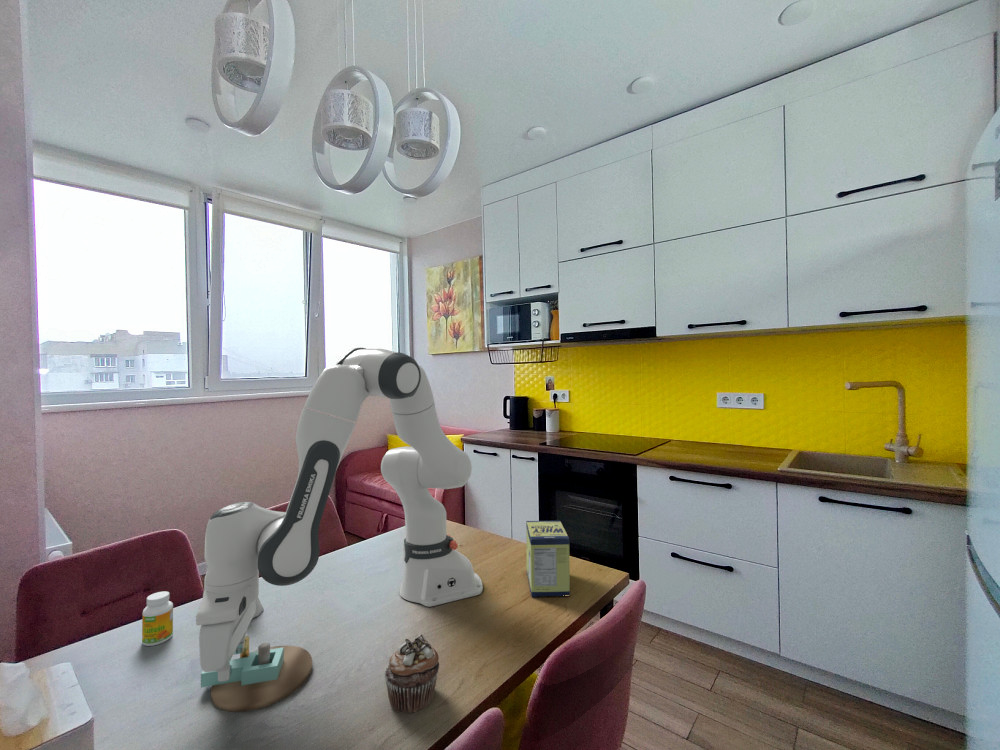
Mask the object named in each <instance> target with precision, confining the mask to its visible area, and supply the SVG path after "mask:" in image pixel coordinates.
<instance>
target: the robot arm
mask: <svg viewBox="0 0 1000 750" xmlns="http://www.w3.org/2000/svg"><path fill="white" fill-rule="evenodd" d="M433 395H434V394H433V390H432V387H431V383H430V381H429V378H428V376H427V373H426V371H425V369H424V368H423V367H422V365H421V366H420V365H419V364H418V362H417V360H415V359H414V358H413V357H412V356H410V355H409V354H406V353H403V352H400V351H399V352H396V351H392V350H388V349H384V348H365V347H355V348H351V349H348V350H347V351H345V352H344V353H342V354H341V356H340V357H339V359H338V360H337V362H336V363H335V364H331V365H328V366H327V367H325V368H324V369H323V370H322V371H321V373H320V375H319V376H318V378H317V379H316V381H315V383H314V384H313V386H312V388H311V390H310V392H309V394H308V395H307V398H306V401H305V403H304V405H303V407H302V410H301V413H300V416H299V419H298V423H297V429H296V434H295V444H296V450H297V457H298V473H297V478H296V481H295V485H294V487H293V489H292V493H291V496H290V499H289V502H288V505H287V507H286V510H285V511H278V510H271V509H268V508H265V507H263V506H259V505H258V504H256V503H254V502H253V501H240V502H234V503H231V504H229V505H226V506H224V507H222V508H220V509H218V510H216V511H215V512H214V513H212V515H211V516H210V518H209V519H208V521H207V523H206V529H205V535H204V537H205V538H204V560H205V561H204V562H205V564H206V573H205V575H204V583H203V585H204V589H203V590H204V591H203V592H202V601H201V603H200V604H199V605H200V606H199V608H198V611H197V612H196V615H195V625H196V626H200V627H199V633H198V634H199V635H198V644H199V645H198V648H199V662H200V668H201V670H202V671H204V672H213V671H217V672H218V681H220V682H222V681H227V680H228V679H229V678H230V676H231V674H232V665H231V666H230V660H232V658H233V655H240V654H241V653H242V651H243V650H244V647H245V636H247V632H248V631H247V630H248V628H249V625H250V623H251V622H252V620H253V619H254V618H253V616H254V614H255V611H256V598H257V597H258V598H259V594H260V590H259V589H260V585H259V584H260V581H259V580H260V579H259V578H260V577H259V575H260V576H261V578H262V579H263V580H264V581H265V582H266V583H269V584H271V585H273V586H277V587H284V586H285V587H286V586H291V585H294V584H297V583H299V582H301V581H302V580H303V579H305V578H307V577H308V576H309V575H310V574H311V573H312V572H313V570H314V569H315V568H316V566H317V564H318V561H319V558H320V541H319V539H320V538H319V530H320V526H321V521H322V517H323V514H324V511H325V508H326V505H327V502H328V500H329V499H328V498H329V495H330V492H331V489H332V486H333V483H334V478H335V475H336V473H337V470H338V467H339V465H340V462H341V461H342V458H343V455H344V453H345V452H346V451H345V450H346V448H347V446H348V445H349V444H348V443H349V441H350V440H351V437H352V435H353V432H354V429H355V427H356V423H357V421H358V418H359V415H360V412H361V408H362V404H363V403H364V401H366V399H367V398H368V397H369V396H371V397H381V398H388V399H389V405H390V410H391V413H392V417H393V424H394V426H395V427H394V428H395V431H396V434H397V436H398V438H399V439H400V440H401V441H402V442H403V443H405V444H407V445H408V446H400V447H396V448H395V447H394V448H390V449H389V450H387V451H386V453H385V454H384V455H383V457H382V459H381V463H380V472H381V475H382V478H383V480H384V481H385V482H386V483H388V484H389V485H390V487H392V489H394V491H395V492H396V495H397V496H398V497H399V500H400V502H401V505H402V508H403V511H404V522H405V523H404V525H405V538H404V540H403V561H404V567H403V575H402V580H401V585H400V589H399V595H400V597H402V598H403V599H404V600H407V601H409V602H413V603H417V604H421V605H422V606H424V607H429V608H430V607H434V606H438V605H442V604H447V603H451V602H455V601H458V600H459V601H460V600H463V599H467V598H471V597H475V596H478V595H480V594H482V593H483V589H484V587H483V581H482V579H481V577H480V576H479V574H478V573H476V572H474V567H473V565H472V563H471V561H470V560H469V558H468V557H466V556H465V555H464V554H462V553H461V552H459V551H458V550H457V548H458V546H459V545H458V543H457V542H456V540H454V538H453V537H452V536H451V535H450V534H447V511H446V508H445V506H444V504H443V503H442V502H441V501H439V500H438V499H436V498H434V497H433V495H432V494H431V492H430V490H429V489H437V490H449V489H450V490H451V489H457V488H463V487H464V486H465V485H466V484H467V482H469V480H470V478H471V474H472V470H473V469H472V468H473V466H472V460H471V459H470V457H469V456H470V455H468V454H467V452H466V451H464V450H462V449H461V448H459V447H457V446H456V445H455V444H454V443H453V442H452V441H451V440H450V439H449V438H448V437H447V435H446V434H445V432H444V431H443V429H442V427H441V424H440V422H439V417H438V414H437V409H436V404H435V399H434V396H433Z"/></svg>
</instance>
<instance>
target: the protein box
mask: <svg viewBox="0 0 1000 750" xmlns="http://www.w3.org/2000/svg"><path fill="white" fill-rule="evenodd" d="M525 524H526V527H525V528H526V531H525V532H526V535H525V536H526V540H525V541H526V543H525V544H526V547H525V548H526V576H528V577H527V581H529V582H528V585H529V593H530V592H531V593H530V597H531V596H533V597H532V598H541V597H540V596H563V595H564V596H565V595H570V590H571V587H570V586H571V585H570V584H571V583H570V580H571V579H570V577H571V576H570V575H571V573H570V570H571V569H570V568H571V567H570V537H569V536H568V534H567V531H566V529H565V528H564V526H563V524H562V522H561V520H526V523H525ZM537 596H539V597H537Z"/></svg>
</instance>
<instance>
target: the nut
mask: <svg viewBox="0 0 1000 750" xmlns="http://www.w3.org/2000/svg"><path fill="white" fill-rule="evenodd" d="M256 651H257V652H255V651H252V652H251V651H249V653H250V654H249V657H246V658H240V657H239V658H234V659H231V660H230V666H231V665H232V674H231V676H230V678H229V679H228V680H227V681H222V682H220V681H218V672H217V671H213V672H204V671H203V670H202V671H201V672H200V688H201V689H202V688H207V687H212V686H213V685H219V684H225V683H231V682H236V681H241V686H242V685H247V684H253V683H259V682H265V681H270V680H276V679H278V676H279V672H280V669H281V666H282V663H283V660H284V647H282V648H276V649H270V663H269V664H263V665H258V650H256Z"/></svg>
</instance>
